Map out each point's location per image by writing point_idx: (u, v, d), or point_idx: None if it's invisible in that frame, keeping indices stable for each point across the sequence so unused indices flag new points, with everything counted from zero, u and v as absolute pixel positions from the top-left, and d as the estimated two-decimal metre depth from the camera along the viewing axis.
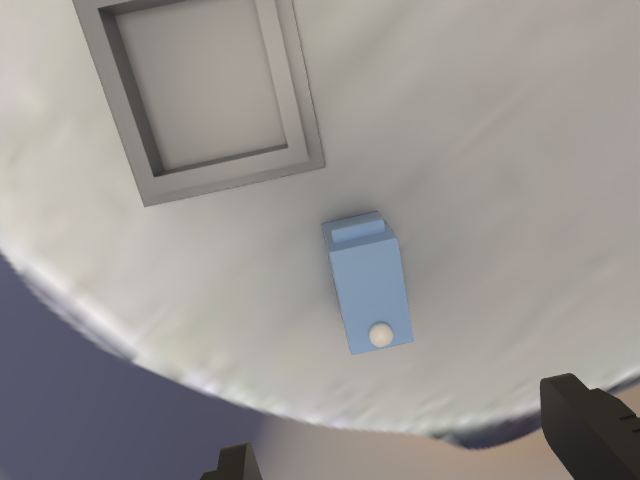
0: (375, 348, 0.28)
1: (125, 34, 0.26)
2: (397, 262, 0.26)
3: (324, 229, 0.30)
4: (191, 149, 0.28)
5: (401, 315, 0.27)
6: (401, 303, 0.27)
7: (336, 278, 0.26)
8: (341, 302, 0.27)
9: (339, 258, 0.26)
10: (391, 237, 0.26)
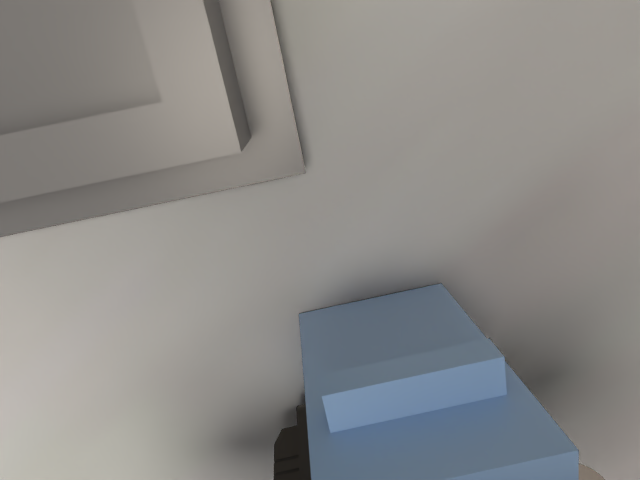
0: None
1: None
2: None
3: (304, 342, 0.11)
4: None
5: None
6: None
7: None
8: None
9: None
10: (550, 442, 0.07)
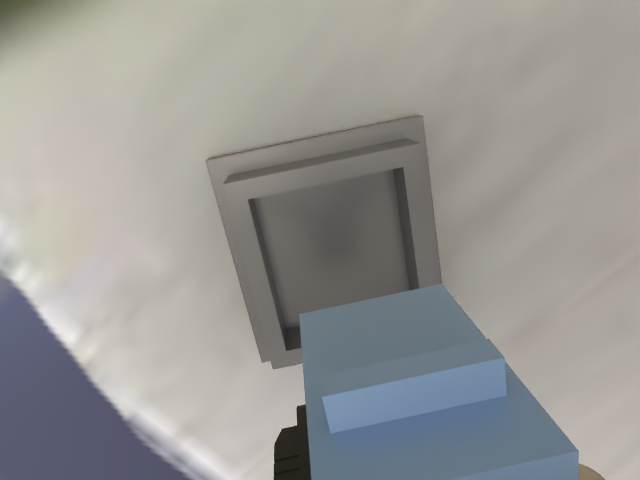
0: None
1: (259, 206, 0.25)
2: None
3: (304, 343, 0.11)
4: (314, 309, 0.27)
5: None
6: None
7: None
8: None
9: None
10: (549, 443, 0.07)
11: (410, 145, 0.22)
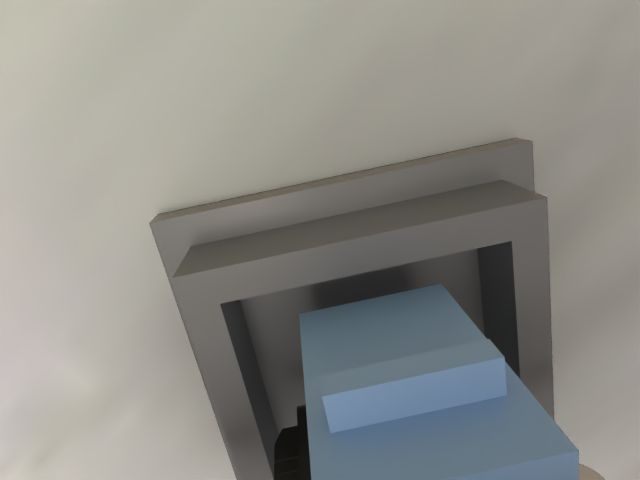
0: None
1: None
2: None
3: (304, 342, 0.11)
4: None
5: None
6: None
7: None
8: None
9: None
10: (550, 443, 0.07)
11: (527, 201, 0.12)
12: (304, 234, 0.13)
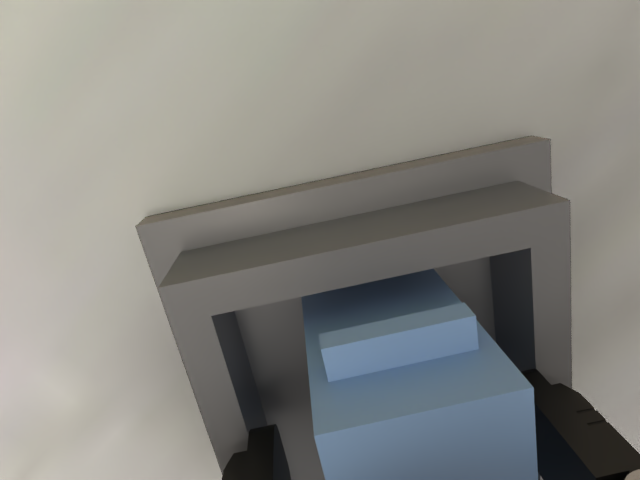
0: None
1: None
2: (526, 454, 0.08)
3: (306, 314, 0.12)
4: None
5: None
6: None
7: None
8: None
9: (346, 450, 0.08)
10: (511, 382, 0.08)
11: (548, 204, 0.11)
12: (303, 239, 0.12)
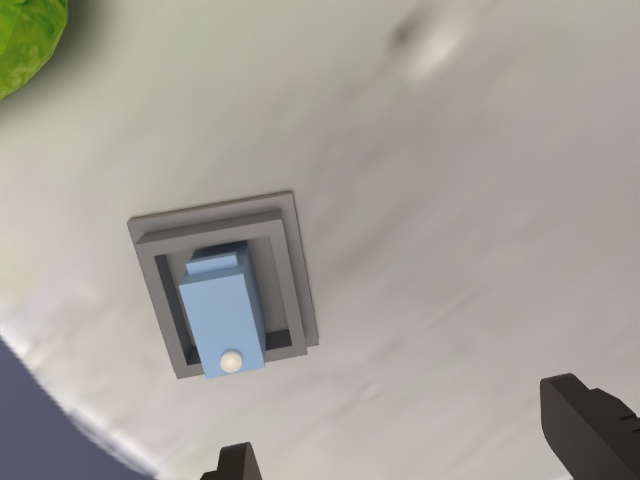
0: (228, 373, 0.30)
1: (169, 255, 0.33)
2: (244, 295, 0.28)
3: (192, 258, 0.32)
4: None
5: (252, 344, 0.29)
6: (251, 333, 0.29)
7: (187, 309, 0.28)
8: (193, 331, 0.29)
9: (188, 291, 0.28)
10: (238, 273, 0.28)
11: (274, 220, 0.30)
12: (190, 229, 0.31)
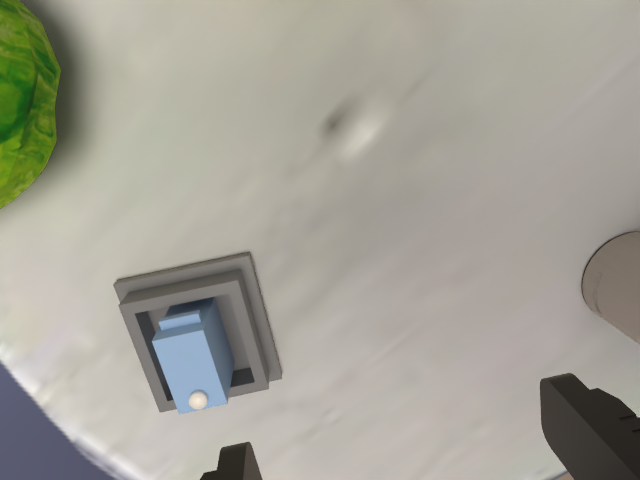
0: (197, 409, 0.36)
1: (149, 309, 0.40)
2: (205, 347, 0.34)
3: (167, 313, 0.38)
4: None
5: (215, 385, 0.36)
6: (213, 376, 0.35)
7: (159, 359, 0.35)
8: (165, 376, 0.35)
9: (160, 345, 0.34)
10: (199, 329, 0.34)
11: (232, 281, 0.37)
12: (165, 289, 0.38)
